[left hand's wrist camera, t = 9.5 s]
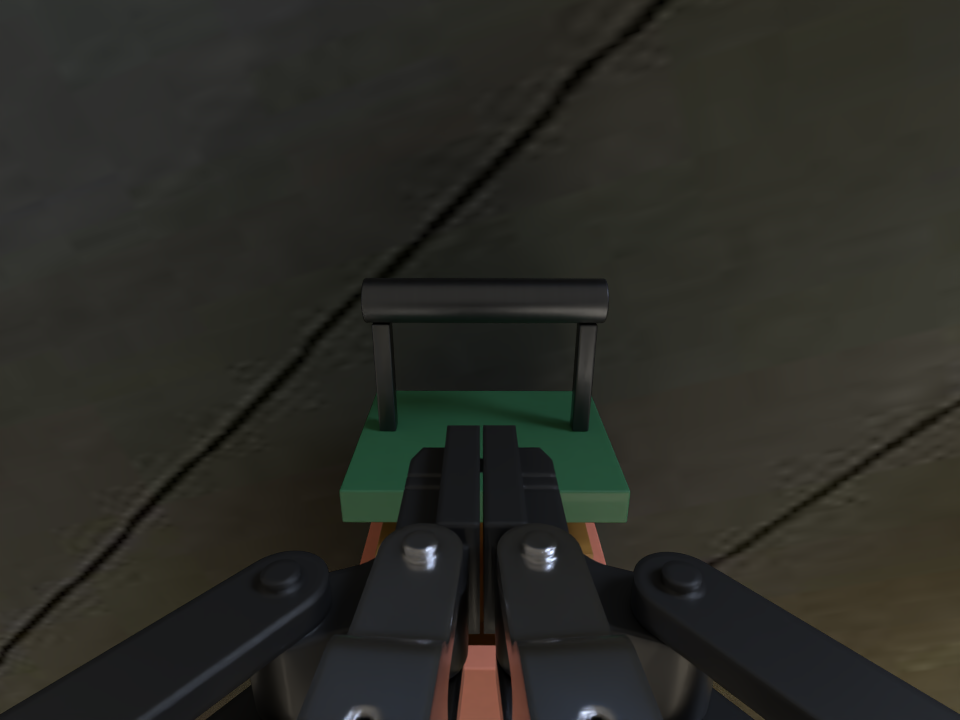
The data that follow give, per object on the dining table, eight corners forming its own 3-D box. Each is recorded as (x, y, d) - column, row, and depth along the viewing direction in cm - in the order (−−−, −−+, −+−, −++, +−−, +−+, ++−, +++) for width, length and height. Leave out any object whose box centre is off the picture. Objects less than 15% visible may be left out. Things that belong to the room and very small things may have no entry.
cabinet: (376, 501, 27) (330, 668, 19) (589, 501, 27) (636, 669, 19) (392, 700, 32) (363, 899, 24) (570, 700, 32) (601, 899, 24)
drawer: (366, 257, 21) (319, 315, 15) (601, 258, 21) (653, 316, 15) (393, 614, 28) (368, 758, 22) (570, 614, 28) (597, 758, 22)
